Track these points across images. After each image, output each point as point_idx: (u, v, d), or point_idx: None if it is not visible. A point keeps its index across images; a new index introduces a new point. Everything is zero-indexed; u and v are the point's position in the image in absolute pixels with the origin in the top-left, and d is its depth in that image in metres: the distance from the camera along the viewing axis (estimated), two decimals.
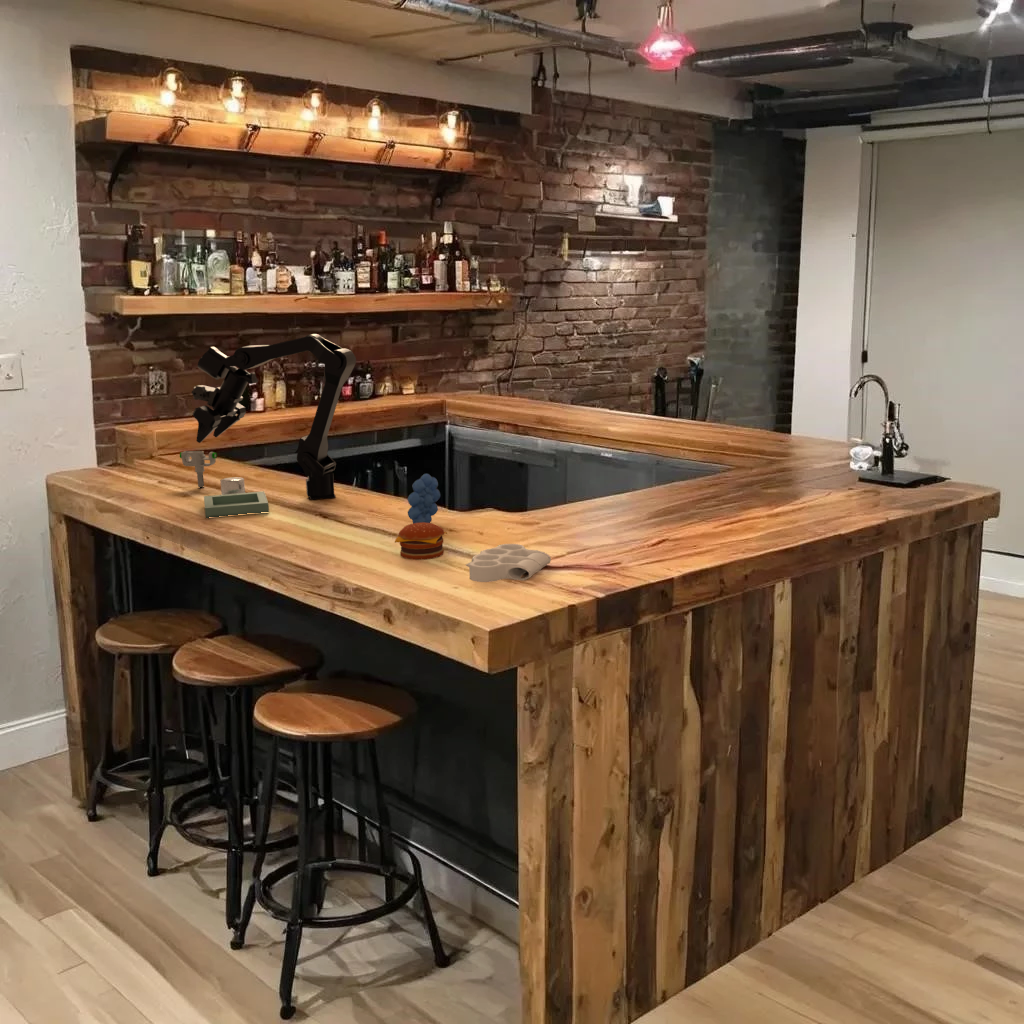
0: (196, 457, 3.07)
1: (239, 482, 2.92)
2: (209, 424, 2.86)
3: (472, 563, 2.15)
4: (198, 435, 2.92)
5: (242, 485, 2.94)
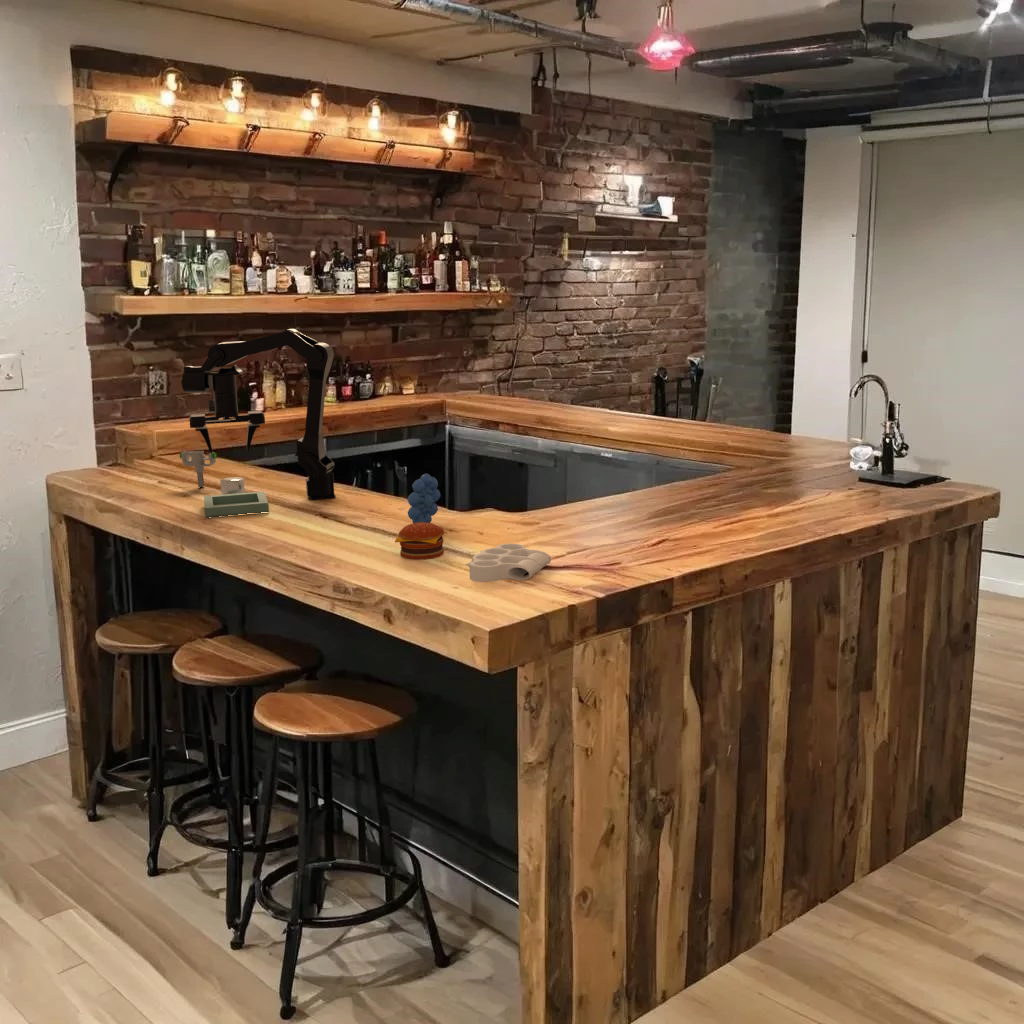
0: (196, 457, 3.07)
1: (239, 482, 2.92)
2: (190, 425, 2.86)
3: (472, 563, 2.15)
4: None
5: (242, 485, 2.94)
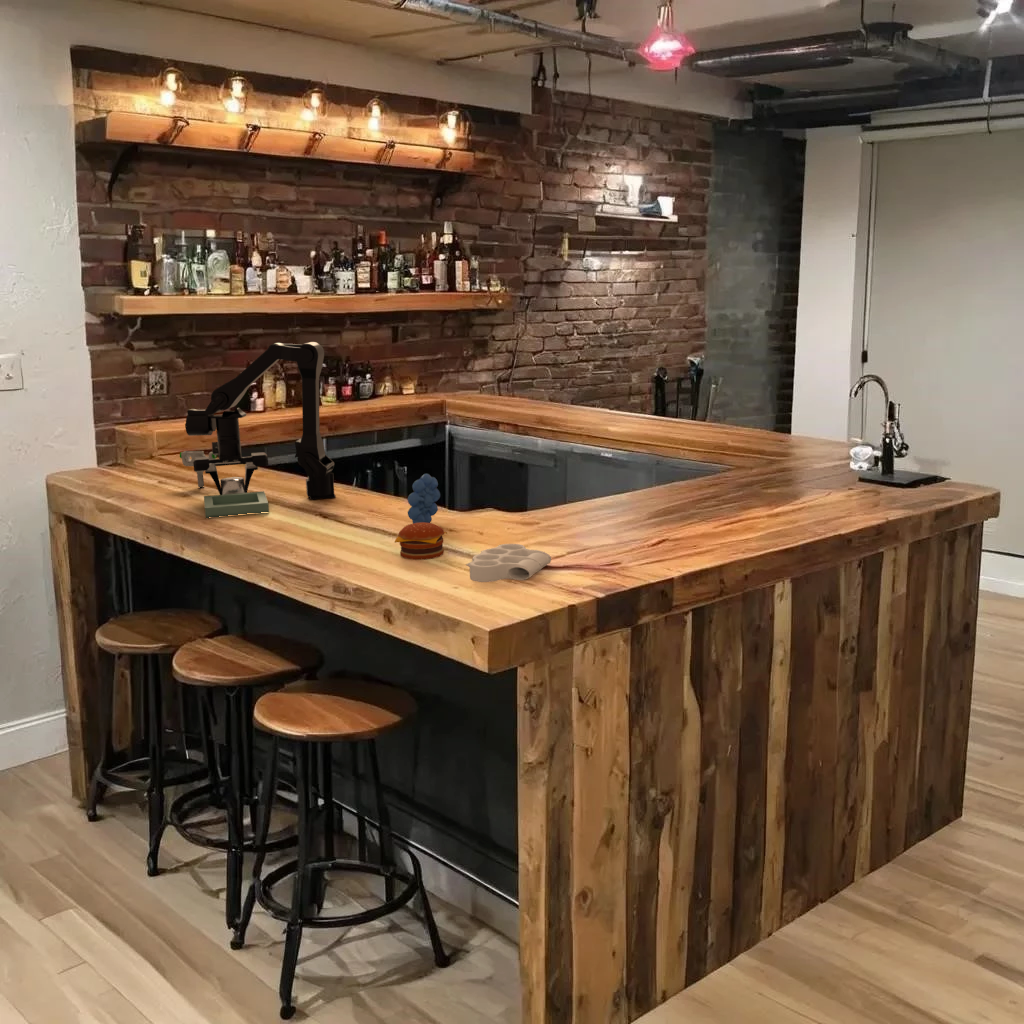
0: None
1: (239, 482, 2.92)
2: None
3: (472, 563, 2.15)
4: None
5: (242, 485, 2.94)
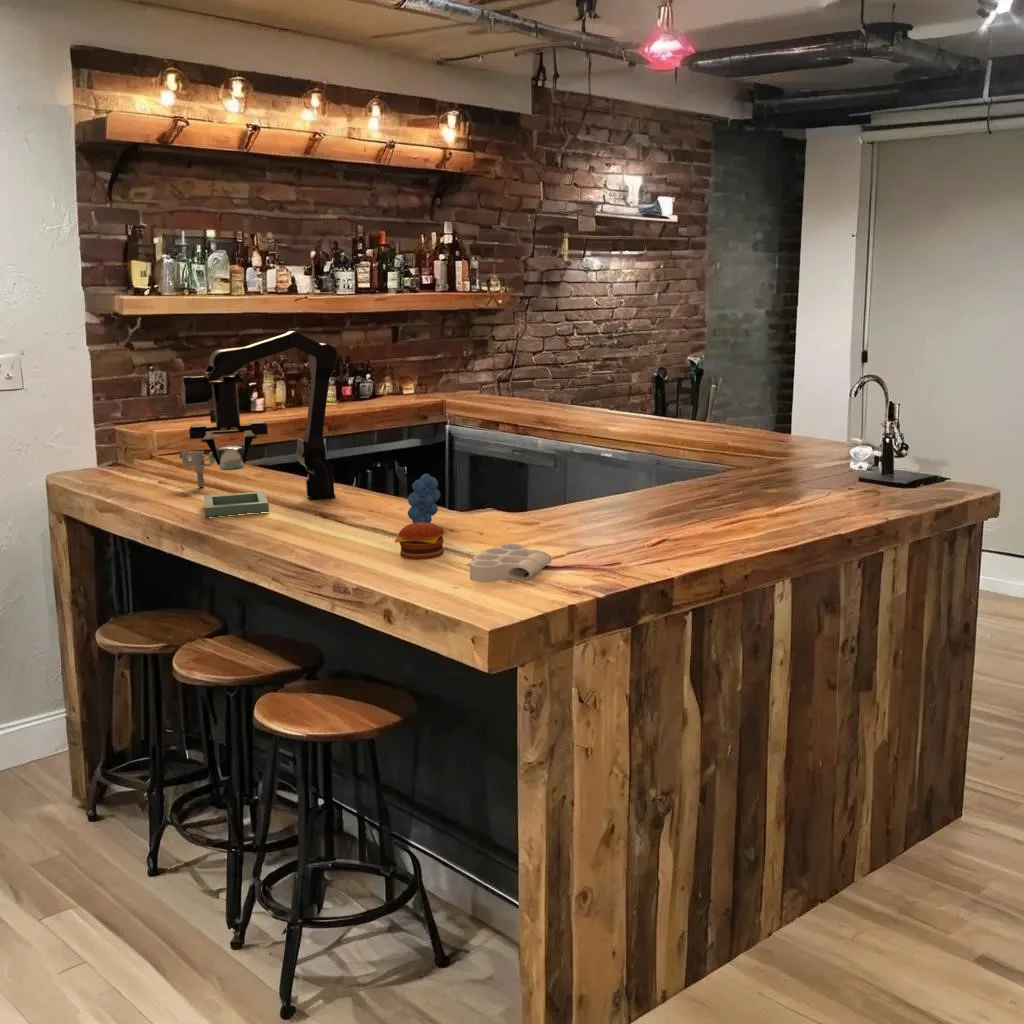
0: (196, 457, 3.07)
1: (237, 451, 2.79)
2: None
3: (472, 563, 2.15)
4: None
5: (240, 454, 2.80)
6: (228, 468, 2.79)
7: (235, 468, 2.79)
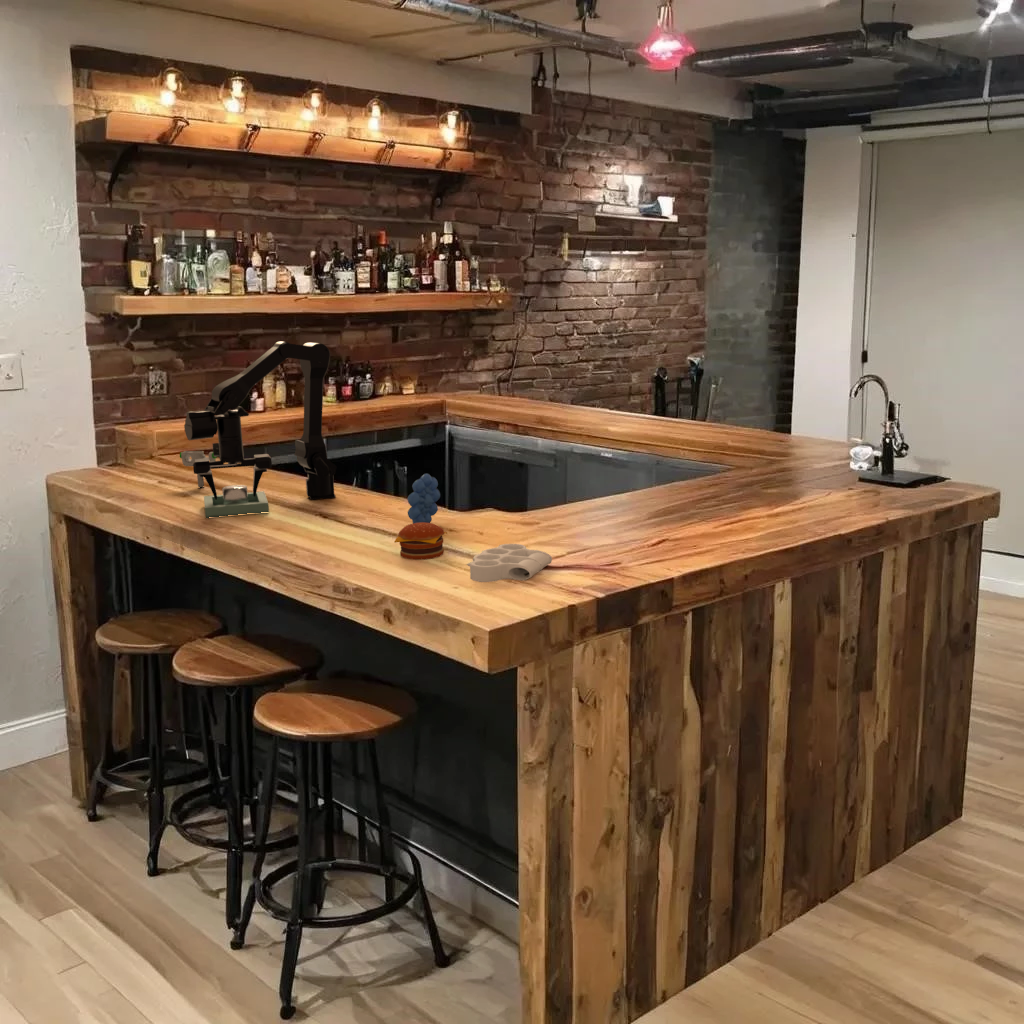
0: (196, 457, 3.07)
1: (242, 490, 2.78)
2: None
3: (473, 563, 2.15)
4: None
5: (245, 493, 2.79)
6: None
7: None
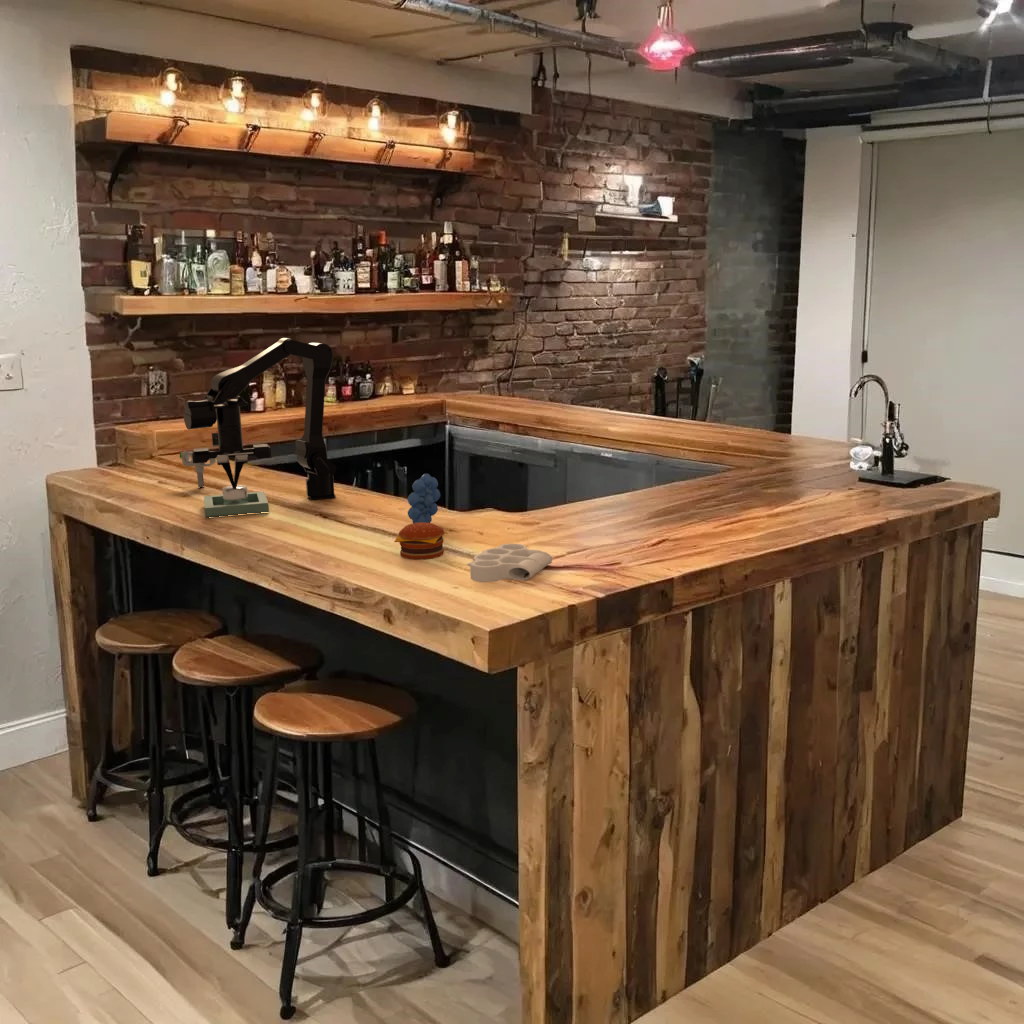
0: None
1: (242, 490, 2.78)
2: None
3: (473, 563, 2.15)
4: None
5: (245, 493, 2.79)
6: None
7: None
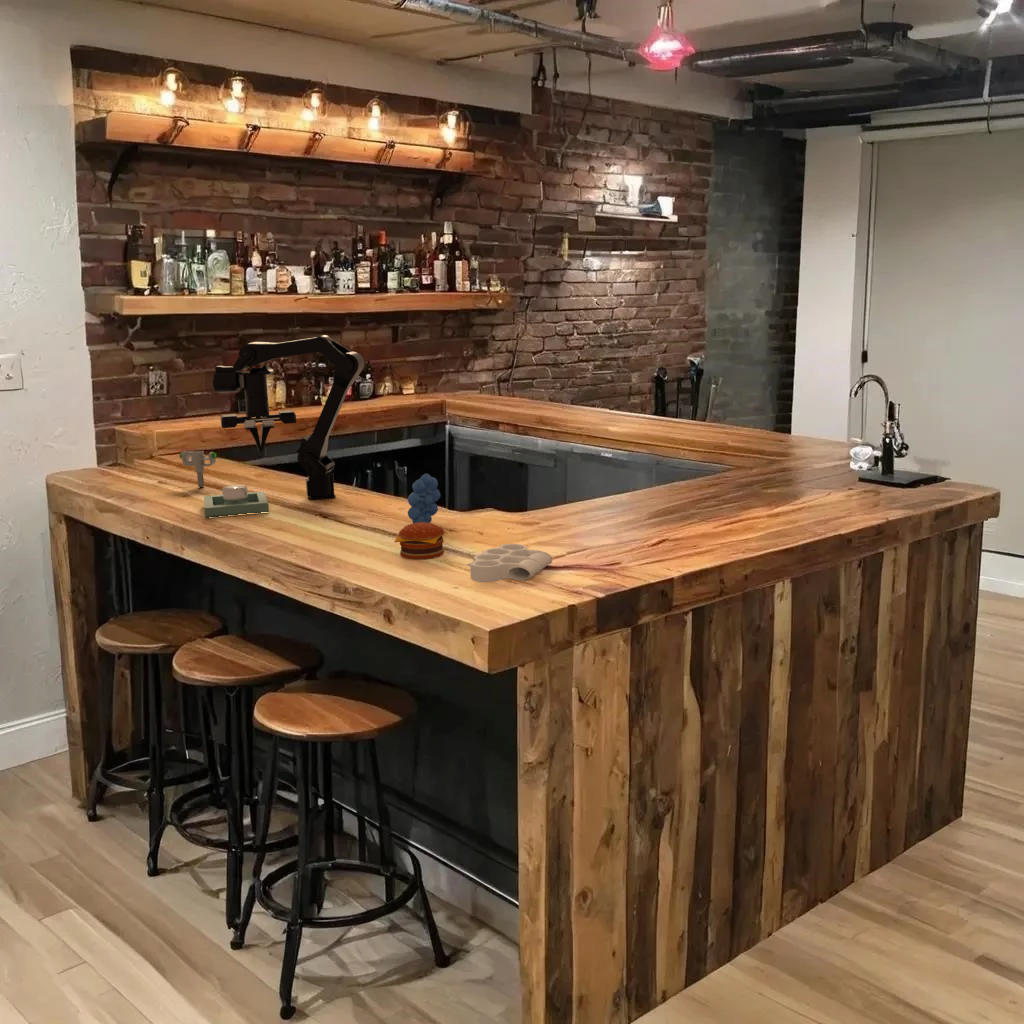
0: (196, 457, 3.07)
1: (242, 490, 2.78)
2: (222, 426, 2.86)
3: (473, 563, 2.15)
4: (256, 444, 2.92)
5: (245, 493, 2.79)
6: None
7: None
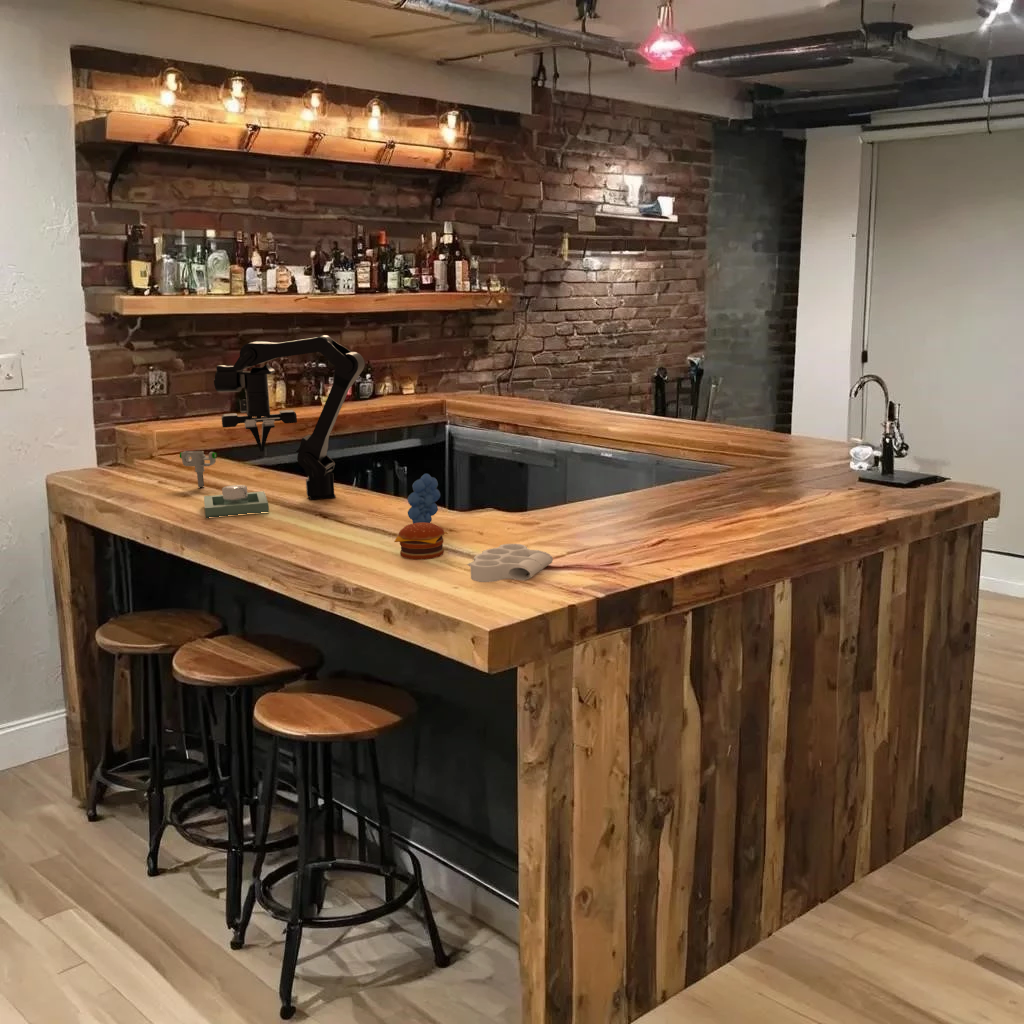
0: (196, 457, 3.07)
1: (241, 490, 2.78)
2: (222, 425, 2.87)
3: (473, 563, 2.15)
4: None
5: (245, 493, 2.79)
6: None
7: None
